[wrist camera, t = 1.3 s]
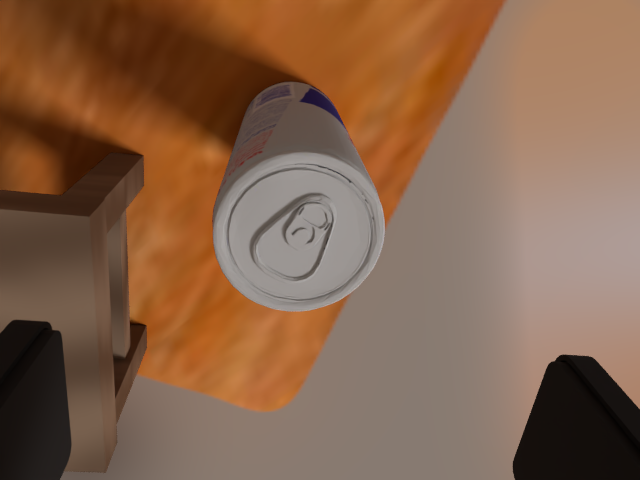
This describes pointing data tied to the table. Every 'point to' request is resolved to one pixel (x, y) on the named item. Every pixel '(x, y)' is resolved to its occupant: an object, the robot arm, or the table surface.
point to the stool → (79, 293)
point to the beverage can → (296, 204)
